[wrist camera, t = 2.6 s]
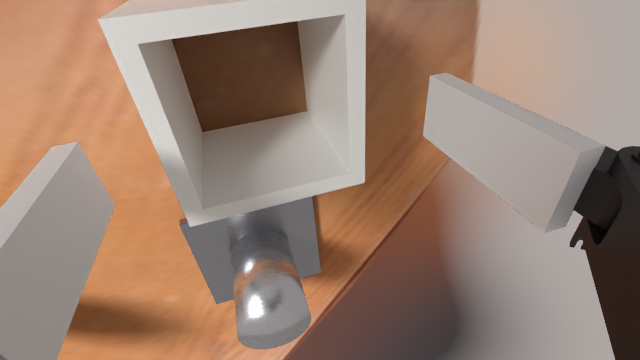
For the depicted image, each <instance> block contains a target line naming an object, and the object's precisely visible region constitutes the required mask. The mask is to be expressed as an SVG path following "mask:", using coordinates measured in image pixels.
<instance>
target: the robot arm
mask: <svg viewBox="0 0 640 360" xmlns="http://www.w3.org/2000/svg"><path fill="white" fill-rule="evenodd" d="M423 136H424V137H425V138H426V139H427V140H429V141H430V142H431V143H432V144H434V145H435V146H436V147H437V148H439V149H440V150H441V151H442V152H444V153H445V154H446V155H447V156H449V157H450V158H451V159H452V160H454V161H455V162H456V163H458V164H459V165H460V166H461V167H462V168H464V169H465V170H466V171H467V172H469V173H470V174H471V175H472V176H474V177H475V178H476V179H477V180H479V181H480V182H481V183H482V184H484V185H485V186H486V187H487V188H489V189H490V190H491V191H492V192H494V193H495V194H496V195H497V196H499V197H500V198H501V199H503V200H504V201H505V202H506V203H507V204H508V205H510V206H511V207H512V208H513V209H515V210H516V211H517V212H518V213H520V214H521V215H522V216H523V217H525V218H526V219H527V220H528V221H530V222H531V223H532V224H534V225H535V226H536V227H537V228H538V229H540V230H541V231H542V232H543V233H546V232H549V231H552V230H556V229H559V228H562V227H565V226H566V224H567V223H568V221H569V218H570V216H571V215H572V212H573V211H574V210H575V211H576V212H577V213H579V214H580V215H582V216H583V218H582V220H581V222H580V224H579V226H578V228H577V230H576V232H575V234H574V235H573V237H572V239H571V241H570V247H575V245H576V243H577V241H579V240H583V245H582V246H581V249H583V250H586V254H587V258H588V261H589V265H590V269H591V272H592V276H593V280H594V283H595V287H596V290H597V294H598V298H599V302H600V305H601V309H602V312H603V316H604V320H605V324H606V327H607V331H608V334H609V338H610V342H611V345H612V349H613V353H614V356H615V360H640V147H635V146H631V147H625V148H622V149H621V150H619V151H615V150H613V149H611V148H609V147H607V146H605V145H604V144H601V143H599V142H597V141H595V140H593V139H591V138H588V137H586V136H584V135H582V134H579V133H577V132H575V131H573V130H571V129H569V128H566V127H564V126H562V125H559V124H558V123H556V122H553V121H551V120H549V119H547V118H545V117H542V116H540V115H538V114H536V113H534V112H532V111H529V110H527V109H525V108H523V107H521V106H518V105H516V104H514V103H512V102H510V101H508V100H505V99H503V98H501V97H499V96H497V95H494V94H492V93H490V92H488V91H486V90H484V89H481V88H479V87H477V86H475V85H473V84H470V83H468V82H466V81H464V80H462V79H460V78H457V77H455V76H453V75H451V74H449V73H441V74H436V75H431V76H430V80H429V88H428V97H427V105H426V114H425V122H424V131H423ZM114 208H115V204H114V202H113V200H112V198H111V197H110V195H109V193H108V192H107V190H106V188H105V187H104V185H103V183H102V182H101V180H100V178H99V177H98V175H97V173H96V171H95V170H94V168H93V166H92V165H91V163H90V161H89V160H88V158H87V156H86V155H85V153H84V151H83V150H82V148H81V146H80V145H79V143H78V142H74V143H69V144H64V145H59V146H53V147H52V148H51V149H50V150H49V151H48V152H47V154H46V155H45V156H44V157H43V158H42V160H41V161H40V162H39V163H38V164H37V165H36V167H35V168H34V169H33V170H32V171H31V173H30V174H29V175H28V176H27V177H26V179H25V180H24V181H23V182H22V183H21V184H20V186H19V187H18V188H17V189H16V190H15V192H14V193H13V194H12V195H11V196H10V197H9V199H8V200H7V201H6V202H5V203H4V205H3V206H2V207H1V208H0V360H57V357H58V355H59V352H60V350H61V347H62V344H63V342H64V339H65V336H66V334H67V331H68V329H69V326H70V323H71V321H72V318H73V315H74V313H75V310H76V307H77V305H78V302H79V300H80V297H81V294H82V292H83V289H84V286H85V284H86V281H87V279H88V276H89V273H90V271H91V268H92V265H93V263H94V260H95V258H96V255H97V252H98V250H99V247H100V244H101V242H102V239H103V237H104V234H105V231H106V229H107V226H108V223H109V221H110V218H111V216H112V213H113V210H114Z"/></svg>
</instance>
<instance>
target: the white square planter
mask: <svg viewBox="0 0 640 360" xmlns="http://www.w3.org/2000/svg"><path fill="white" fill-rule="evenodd" d="M294 21H297V23H298V32H299V41H300V50H301V59H302V68H303V77H304V87H305V96H306V105H307V111H306V112H301V113H296V114H291V115H286V116H281V117H276V118H271V119H266V120H261V121H256V122H251V123H246V124H241V125H236V126H231V127H226V128H221V129H216V130H211V131H206V132H202V129H201V126H200V123H199V120H198V117H197V114H196V111H195V108H194V105H193V102H192V99H191V96H190V93H189V90H188V87H187V84H186V81H185V78H184V75H183V72H182V69H181V66H180V63H179V60H178V57H177V54H176V51H175V48H174V45H173V42H172V39H176V38H183V37H190V36H197V35H204V34H211V33H218V32H225V31H232V30H239V29H246V28H252V27H259V26H266V25H273V24H280V23H287V22H294ZM98 22H99V24H100V26H101V28H102V31H103V33H104V35H105V37H106V39H107V42H108V44H109V46H110V48H111V51H112V53H113V55H114V57H115V60H116V62H117V64H118V66H119V69H120V71H121V73H122V75H123V78H124V80H125V82H126V84H127V87H128V89H129V91H130V93H131V96H132V98H133V100H134V102H135V105H136V107H137V109H138V111H139V114H140V116H141V118H142V120H143V123H144V125H145V127H146V129H147V131H148V134H149V136H150V138H151V140H152V143H153V145H154V147H155V149H156V152H157V154H158V156H159V158H160V161H161V163H162V165H163V167H164V170H165V172H166V174H167V176H168V179H169V181H170V183H171V185H172V188H173V190H174V192H175V194H176V197H177V199H178V201H179V203H180V206H181V208H182V210H183V212H184V215H185V217H186V219H187V221H188V223H189V226H190V227H192V226H196V225H200V224H204V223H208V222H212V221H216V220H220V219H224V218H228V217H232V216H236V215H240V214H244V213H248V212H252V211H255V210H259V209H263V208H267V207H271V206H275V205H279V204H283V203H287V202H291V201H295V200H299V199H303V198H307V197H311V196H315V195H319V194H323V193H326V192H330V191H334V190H338V189H342V188H346V187H350V186H354V185H358V184H362V183H365V89H366V0H129V1H127V2H126V3H124V4H122V5H121V6H119V7H118V8H116V9H114V10H113V11H111V12H109V13H108V14H106V15H104V16H103V17H101V18H100V19H98Z"/></svg>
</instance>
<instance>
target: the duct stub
mask: <svg viewBox="0 0 640 360" xmlns="http://www.w3.org/2000/svg"><path fill="white" fill-rule="evenodd" d="M180 227H181V229H182V231H183V234H184V236H185V238H186V240H187V242H188V244H189V246H190V248H191V251H192V253H193V255H194V257H195V259H196V261H197V263H198V265H199V268H200V270H201V272H202V274H203V276H204V278H205V280H206V282H207V285H208V287H209V289H210V291H211V293H212V295H213V297H214V299H215V302H216V304H219V303H222V302H225V301H229V300H232V299H234V302H235V312H236V323H237V333H238V339H239V341H240V342H241V343H242V344H243V345H244V346H246V347H249V348H253V349H269V348H275V347H278V346H282V345H284V344H287V343H289V342H291V341H293V340H294V339H296V338H297V337H299V336H300V335H301V334H302V333H304V331H305V330H306V329H307V328H308V326H309V324H310V322H311V314H310V311H309V307H308V304H307V301H306V298H305V294H304V291H303V288H302V284H301V281H300V279H301V278H305V277H308V276H311V275H315V274H318V273H321V267H320V258H319V250H318V242H317V234H316V225H315V217H314V209H313V200H312V196H311V197H307V198H303V199H299V200H295V201H291V202H287V203H283V204H279V205H275V206H271V207H267V208H263V209H259V210H255V211H252V212H248V213H244V214H240V215H236V216H232V217H228V218H224V219H220V220H216V221H212V222H208V223H204V224H200V225H196V226H192V227H190V226H189V223H188V221H187V219H182V220H180Z"/></svg>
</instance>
